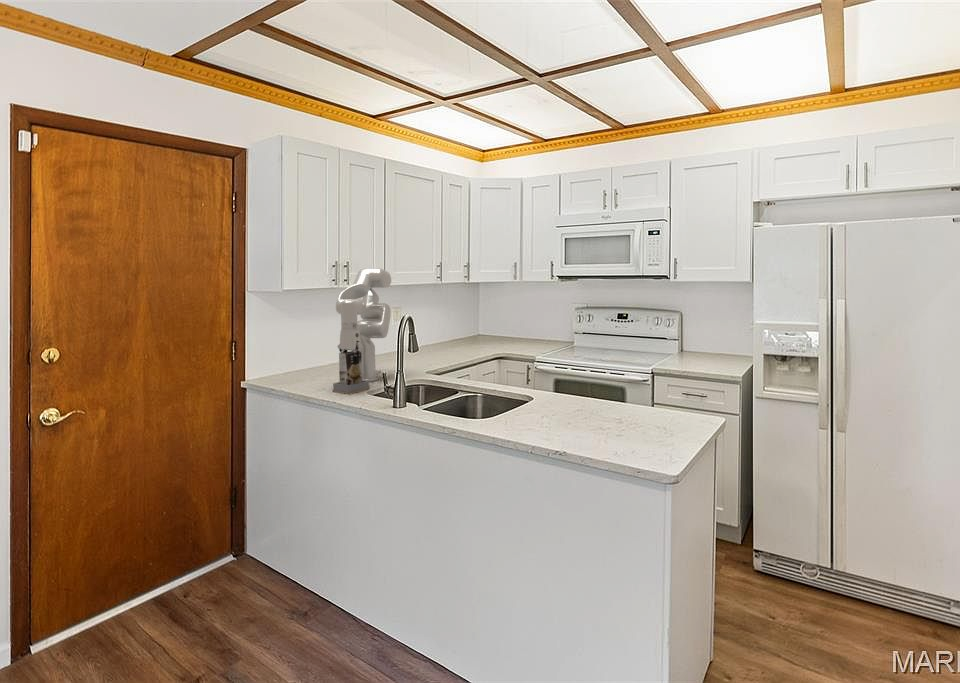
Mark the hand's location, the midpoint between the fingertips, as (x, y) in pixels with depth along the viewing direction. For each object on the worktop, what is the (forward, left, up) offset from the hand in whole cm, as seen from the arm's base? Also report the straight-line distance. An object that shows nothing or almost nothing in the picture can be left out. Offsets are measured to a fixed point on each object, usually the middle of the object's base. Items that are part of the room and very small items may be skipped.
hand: (350, 363), depth 272 cm
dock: (0, 0, -13) cm, 13 cm away
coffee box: (0, 0, -11) cm, 11 cm away
